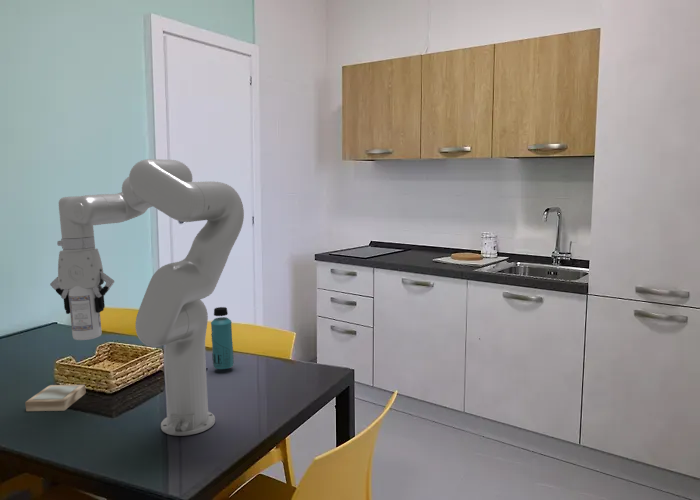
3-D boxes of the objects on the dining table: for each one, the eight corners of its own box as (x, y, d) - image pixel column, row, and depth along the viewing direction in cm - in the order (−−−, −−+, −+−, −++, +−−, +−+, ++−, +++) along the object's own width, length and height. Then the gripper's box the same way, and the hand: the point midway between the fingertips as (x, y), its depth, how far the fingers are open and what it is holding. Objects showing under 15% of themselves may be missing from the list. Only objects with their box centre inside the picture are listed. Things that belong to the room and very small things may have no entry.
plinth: (64, 410, 146) (63, 400, 146) (26, 411, 146) (25, 401, 146) (85, 393, 158) (85, 384, 158) (50, 393, 158) (49, 384, 158)
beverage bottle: (236, 367, 178) (234, 305, 176) (230, 374, 172) (227, 310, 169) (216, 366, 179) (214, 305, 176) (209, 374, 172) (206, 310, 170)
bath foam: (89, 332, 152) (82, 259, 150) (107, 334, 149) (101, 260, 147) (66, 339, 146) (59, 263, 144) (85, 341, 143) (78, 263, 141)
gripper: (37, 247, 141) (44, 316, 143) (106, 244, 141) (112, 314, 143) (52, 244, 149) (59, 310, 151) (118, 241, 149) (124, 307, 151)
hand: (85, 311), depth 147 cm, fingers closed on bath foam, 7 cm apart
